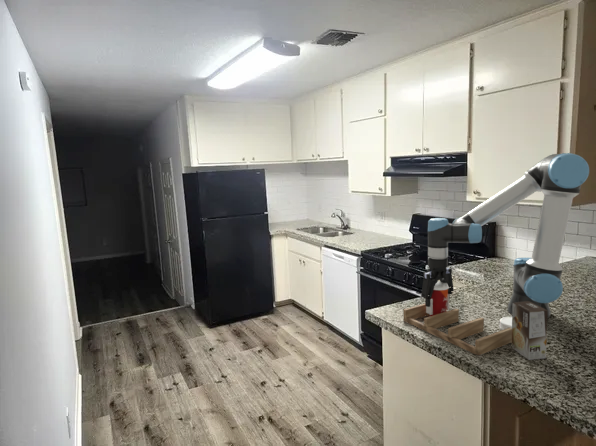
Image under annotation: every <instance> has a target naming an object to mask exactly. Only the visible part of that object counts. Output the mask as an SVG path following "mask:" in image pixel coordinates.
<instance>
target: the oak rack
mask: <svg viewBox="0 0 596 446" xmlns="http://www.w3.org/2000/svg"><path fill="white" fill-rule="evenodd" d="M402 310H403V313H402V314H403V315H402V316H403V317H402V318H403V322H405V323H407V324H409V325H411V326H413V325H414V326H413V327H415V326H416V328H417V327H418V329H419V328H420V330H422V331H424V332H425V333H429V334H431V335H433V336H435V337H436V338H439V339H442V340H443V341H446V342H448V343H450V344H452V345H454V346H456V347H459V348H461V349H463V350H464V351H468V352H470V353H471V354H474V355H476V356H477V357H479V356H481V355H484V354H486V353H490V352H491V351H494V350H497V349H499V348H502V347H504V346H506V345H509V344H512V328H507V329H504V330H501V329H500V330H498V331H496V332H494V333H491V334H489V335H488V334H487V335H485V336H483V337H479V338H477V339H475V341H474V342H475V343H474V344H475V345H473V344H470V343H468V342H466V341H463V339H466V338H468V337H471V336H474V335H477V334H479V333H482V332H484V330H485V329H484V328H485V327H484V326H485V325H484V323H485V322H484V321H485V318H484V317H478V318H474V319H472V320H469V321H466V322H463V323H460V324H457V325H454V326H451V327H448V328H447V333H446V332H444V331H441V330H439V328H442V327H445V326H449V325H452V324H454V323H457V322H459V320H460V312H459V311H460V309H459V308H453V309H449V310H447V311H446V312H443V313H440V314H437V315H433V316H430V314H428V313H426V305H425V303H421V304H417V305H414V306H411V307H406V308H404V309H402ZM426 316H428V317H426ZM420 318H423V322H420V321H419V320H418V319H420Z"/></svg>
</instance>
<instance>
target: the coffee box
mask: <svg viewBox="0 0 596 446" xmlns="http://www.w3.org/2000/svg"><path fill="white" fill-rule="evenodd" d="M511 317H512V343H511V348H512V349H513V350H514V351H516V352H517V353H519V355H521V356H522V357H524V358H525V359H526V360H528V361H531V360H532V361H533V360H541V359H547V340H548V318H547V317H548V310H546V309H544V308H542V307H540V306H538V305H536V304H534V303H532V302H530V301H524V302H516V303H513V305H512V314H511Z"/></svg>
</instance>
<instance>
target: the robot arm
mask: <svg viewBox="0 0 596 446" xmlns="http://www.w3.org/2000/svg"><path fill="white" fill-rule="evenodd" d="M589 175H590V166H589V164H588V161H586V160H585V159H584V157H582V156H580V155H579V154H575V153H570V152H565V153H564V152H563V153H552V154H549V155H547V156H546V157H544V158H543V159H541V160H540V161H539V162H537V163H535V164H534V165H533V166H531V167H530V168H529V169H527V170H526V171H524V173H523V176H522V177H519V178H518V179H517V180H516V181H514V182H512V183H511V184H509V185H508V186H506V187H505V188H503V189H502V190H500V191H499V192H497V193H496V194H495V195H493V196H491V197H490V198H488V199H487V200H486V201H484V202H482V203H480V204H479V205H478V206H476V207H475V208H473V209H472V210H469V212H467V213H466V214H464V215H463V216H461V217H457V218H455V219H454V220H453V221H452V223H451V222H449V219H448V218H444V217H442V218H441V217H435V218H434V217H433V218H430V219H429V220H428V221H427V266H428V269H429V270H428V271H427V272H423V274H422V276H423V277H422V278H423V280H422V286H421V287H422V288H421V294H420V296H421V298H423V299H424V300H425V301H424V302H425V305H426V313H428V314H430V315H433V299H432V298H431V297H432V294H433V291H434V290H433V289H434V286H435V284H436V283H437V282H438V281H440V282H443V283H447V284H448V286H449V289H448V297H447V311H450V300H451V298H450V297H451V295H452V294H453V292H454V290H455V289H454V282H453V276H452V275H453V268H450V267H449V265H448V264H449V258H448V257H449V243H454V244H455V243H456V244H457V243H458V244H478V243H481V242H482V239H483V229H482V226H484V225H486V224H487V223H489V222H491V221H492V220H494V219H496V218H497V217H499V215H501V214H503V213H504V212H506V211H507V210H509V209H511V208H512V207H514V206H515V205H517V204H519V203H520V202H521V201H523V200H525V199H527V198H528V197H530V196H531V195H533V194H534V193H536V192H538V193H539V192H542V193H543V195H544V196H543V200H542V205H541V209H540V215H539V220H538V225H537V229H536V233H535V240H534V244H533V249H532V253H531V254H532V255H531V257H517V258H515V259H514V262H513V280H512V283H513V284H512V285H513V286H512V294H511V297H510V298H509V301H508V304H507V312H508V313H510V314H511V315H512V305H513V303H516V302H524V301H530V302H532V303H534V304H536V305H538V306H540V307H542V308H544V309H546V310H548V317H547V319H549V318H550V317H551V308H550V305H549V303H553V302H555V301H557V300H558V299H559V298H560V297H561V296H562V294H563V291H564V290H563V289H564V285H563V282H562V280H561V278H562V273H563V269H564V268H563V267H562V265H560V259H561V258H560V257H561V255H562V249H563V244H564V242H565V235H566V231H567V227H568V223H569V217H570V213H571V209H572V204H573V199H574V198H575V197H576V196H578V195H580V191H581V187H582V185H583V184H584V183H585V182H586V181H587V179H588V177H589ZM430 315H429V316H430Z"/></svg>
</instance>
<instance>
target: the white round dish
mask: <svg viewBox="0 0 596 446" xmlns="http://www.w3.org/2000/svg"><path fill="white" fill-rule="evenodd" d="M507 328H512V316H503V317H501V318H500V319H499V329H500V331H501V330H504V329H507Z"/></svg>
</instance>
